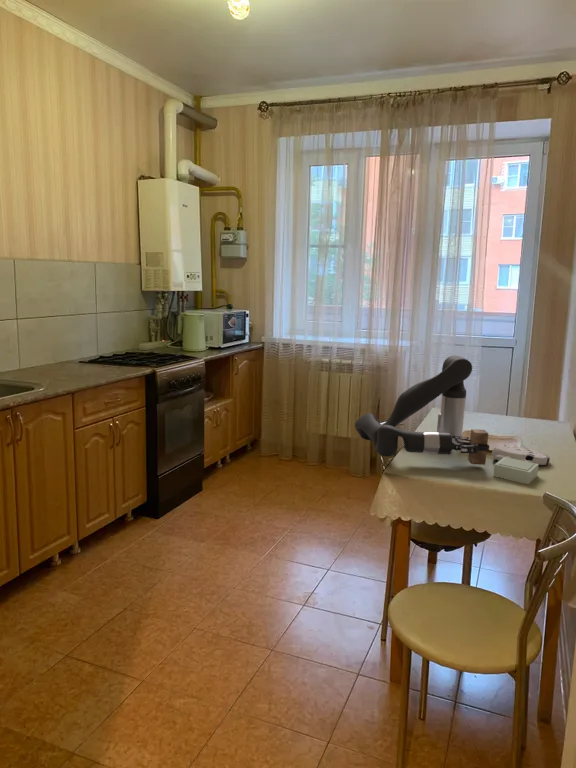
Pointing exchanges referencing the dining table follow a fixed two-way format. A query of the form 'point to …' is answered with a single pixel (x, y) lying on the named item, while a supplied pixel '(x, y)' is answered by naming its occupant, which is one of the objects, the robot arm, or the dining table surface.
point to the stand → (515, 470)
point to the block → (478, 438)
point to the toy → (520, 454)
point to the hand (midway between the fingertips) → (486, 445)
